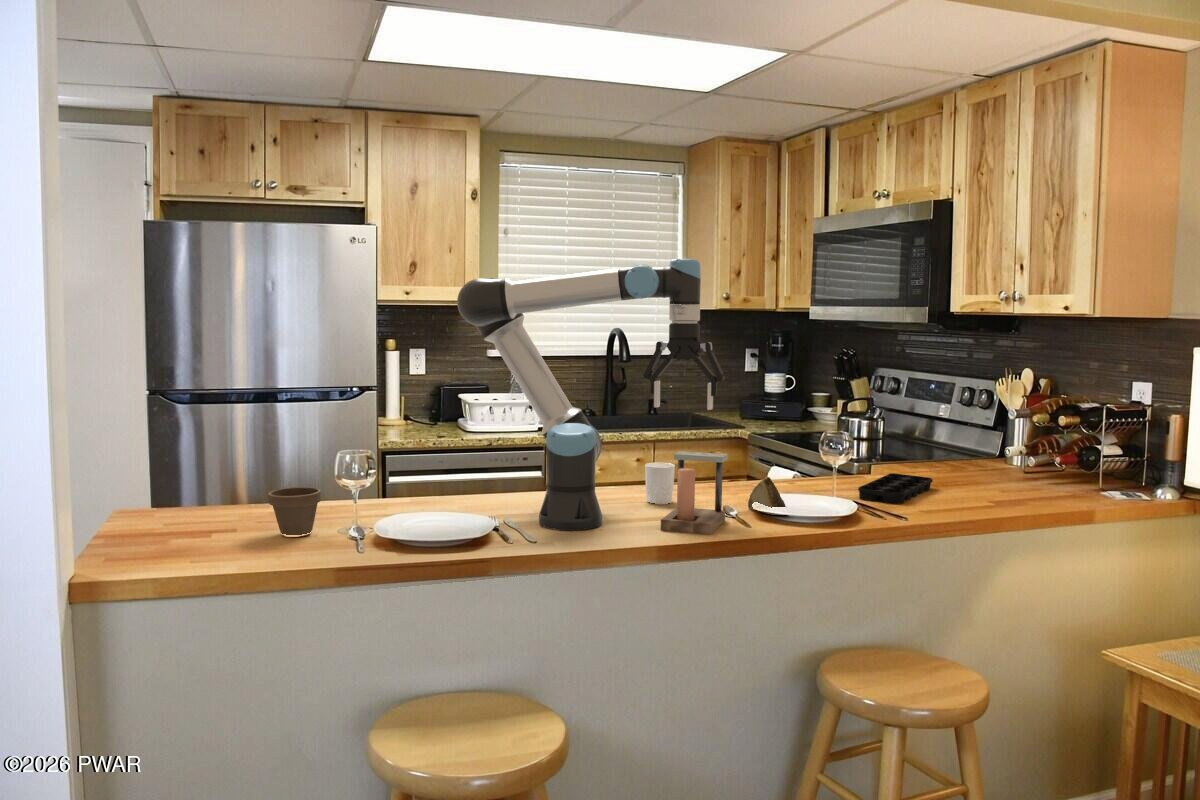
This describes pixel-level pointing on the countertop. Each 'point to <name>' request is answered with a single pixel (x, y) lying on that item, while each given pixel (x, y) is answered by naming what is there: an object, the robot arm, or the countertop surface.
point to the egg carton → (894, 488)
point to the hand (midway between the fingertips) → (683, 408)
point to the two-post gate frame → (707, 458)
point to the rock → (766, 495)
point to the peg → (686, 494)
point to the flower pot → (295, 508)
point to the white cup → (659, 482)
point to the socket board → (702, 523)
